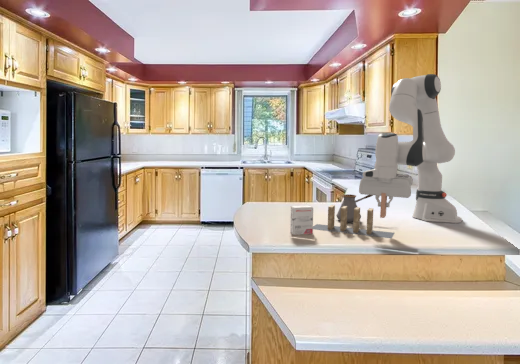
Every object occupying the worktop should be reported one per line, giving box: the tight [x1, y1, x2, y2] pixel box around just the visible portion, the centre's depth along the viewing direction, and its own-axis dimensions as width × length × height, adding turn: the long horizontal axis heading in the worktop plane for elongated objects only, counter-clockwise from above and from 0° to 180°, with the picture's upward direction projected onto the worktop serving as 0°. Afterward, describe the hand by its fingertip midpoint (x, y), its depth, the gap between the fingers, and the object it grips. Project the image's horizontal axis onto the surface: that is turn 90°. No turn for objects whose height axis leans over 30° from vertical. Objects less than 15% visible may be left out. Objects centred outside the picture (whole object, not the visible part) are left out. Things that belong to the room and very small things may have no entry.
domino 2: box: [339, 206, 348, 231], centre depth 166 cm, size 2×5×10 cm, turn 154°
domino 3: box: [352, 206, 361, 233], centre depth 164 cm, size 2×5×10 cm, turn 155°
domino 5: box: [379, 193, 388, 219], centre depth 158 cm, size 2×5×10 cm, turn 154°
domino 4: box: [366, 207, 374, 234], centre depth 161 cm, size 2×5×10 cm, turn 154°
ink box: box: [289, 205, 314, 236], centre depth 161 cm, size 9×5×12 cm, turn 101°
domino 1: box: [327, 204, 336, 230], centre depth 169 cm, size 2×5×10 cm, turn 154°
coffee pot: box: [335, 193, 374, 224], centre depth 184 cm, size 21×12×15 cm, turn 94°
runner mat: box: [313, 223, 395, 239], centre depth 165 cm, size 34×10×1 cm, turn 64°
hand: (383, 206), depth 158 cm, fingers closed on domino 5, 2 cm apart
